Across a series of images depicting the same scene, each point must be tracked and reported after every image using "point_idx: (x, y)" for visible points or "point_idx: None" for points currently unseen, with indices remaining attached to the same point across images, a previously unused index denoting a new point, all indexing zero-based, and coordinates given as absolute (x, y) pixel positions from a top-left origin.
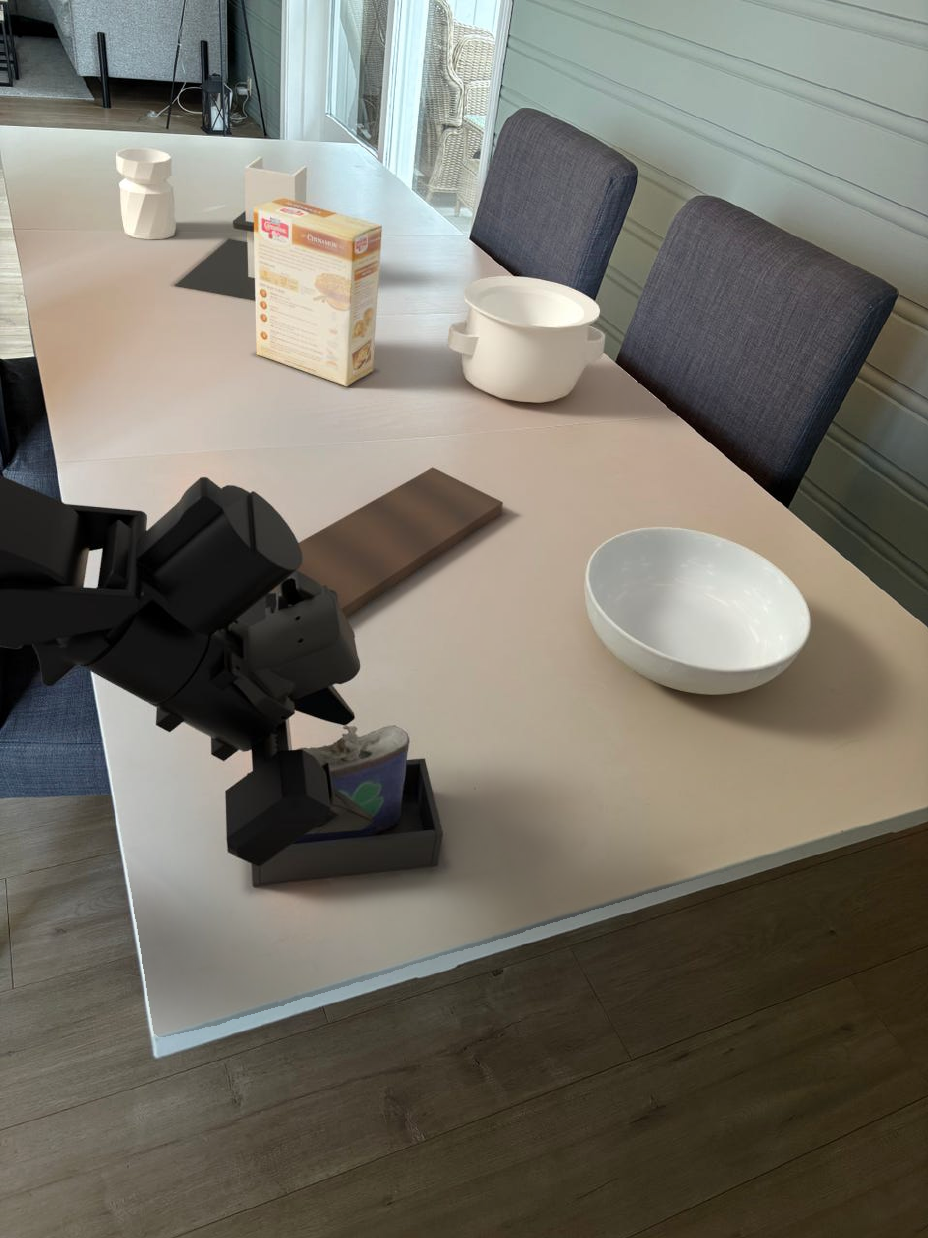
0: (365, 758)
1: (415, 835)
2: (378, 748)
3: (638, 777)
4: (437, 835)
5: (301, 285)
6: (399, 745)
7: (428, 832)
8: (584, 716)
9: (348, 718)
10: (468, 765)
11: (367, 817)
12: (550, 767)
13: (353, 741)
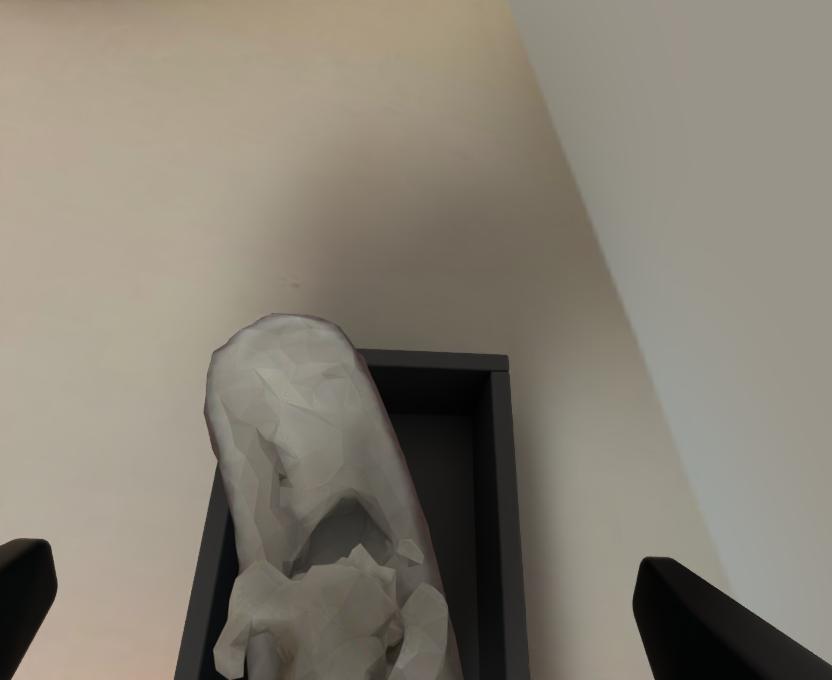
0: (394, 535)
1: (507, 424)
2: (339, 456)
3: (341, 49)
4: (508, 368)
5: None
6: (341, 357)
7: (500, 388)
8: (180, 71)
9: (35, 574)
10: (229, 282)
11: (706, 584)
12: (282, 151)
13: (375, 609)
